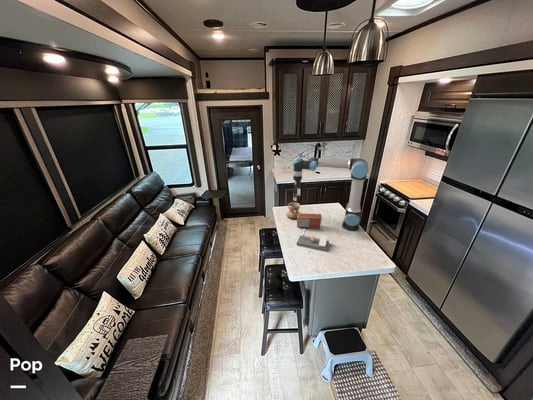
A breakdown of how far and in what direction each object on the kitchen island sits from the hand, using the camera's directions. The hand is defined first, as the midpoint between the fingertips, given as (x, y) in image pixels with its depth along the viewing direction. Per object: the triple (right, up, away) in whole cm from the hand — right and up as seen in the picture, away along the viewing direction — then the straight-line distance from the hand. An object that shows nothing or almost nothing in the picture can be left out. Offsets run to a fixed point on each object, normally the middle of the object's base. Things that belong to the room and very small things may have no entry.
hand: (296, 197), depth 198 cm
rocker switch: (+17, -34, -25) cm, 46 cm away
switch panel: (+10, -38, -21) cm, 45 cm away
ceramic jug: (0, -20, +24) cm, 32 cm away
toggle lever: (+3, -34, -19) cm, 39 cm away
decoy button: (+10, -35, -22) cm, 42 cm away
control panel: (+12, -27, +7) cm, 30 cm away
